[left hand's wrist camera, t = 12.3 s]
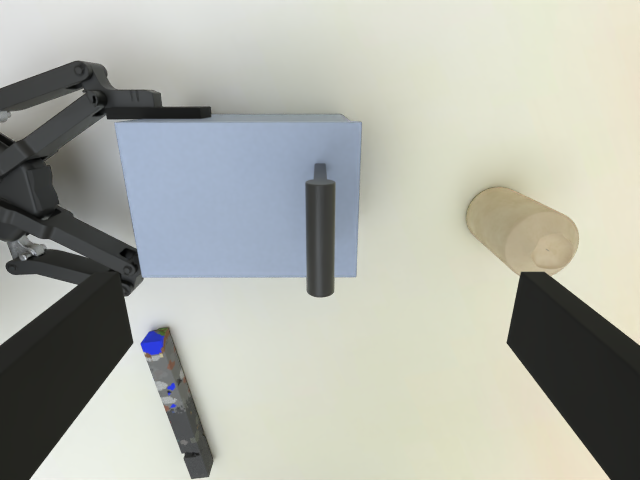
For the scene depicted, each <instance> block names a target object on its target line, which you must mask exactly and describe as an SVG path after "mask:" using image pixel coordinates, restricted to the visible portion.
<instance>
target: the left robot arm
mask: <svg viewBox="0 0 640 480" xmlns="http://www.w3.org/2000/svg"><path fill="white" fill-rule="evenodd" d="M132 344H133V339H132V334H131V329H130V324H129V319H128V314H127V309H126V304H125V299H124V294H123V289H122V284H121V279H120V274H119V272H94V273H93V274H92V275H91V276H89V277H88V278H87V279H85V280H84V281H83V282H82V283H80V284H79V285H78V286H76V287H75V288H74V289H73V290H71V291H70V292H69V293H67V294H66V295H65V296H64V297H62V298H61V299H60V300H58V301H57V302H56V303H55V304H53V305H52V306H51V307H49V308H48V309H47V310H46V311H44V312H43V313H42V314H40V315H39V316H38V317H36V318H35V319H34V320H33V321H31V322H30V323H29V324H27V325H26V326H25V327H24V328H22V329H21V330H20V331H18V332H17V333H16V334H15V335H13V336H12V337H11V338H9V339H8V340H7V341H6V342H4V343H3V344H2V345H0V480H29V479H30V478H31V477H32V475H33V474H34V473H35V472H36V470H37V469H38V468H39V466H40V465H41V464H42V462H43V461H44V460H45V458H46V457H47V456H48V454H49V453H50V452H51V451H52V449H53V448H54V447H55V445H56V444H57V443H58V441H59V440H60V439H61V437H62V436H63V435H64V433H65V432H66V431H67V429H68V428H69V427H70V426H71V424H72V423H73V422H74V420H75V419H76V418H77V416H78V415H79V414H80V412H81V411H82V410H83V408H84V407H85V406H86V404H87V403H88V402H89V401H90V399H91V398H92V397H93V395H94V394H95V393H96V391H97V390H98V389H99V387H100V386H101V385H102V383H103V382H104V381H105V380H106V378H107V377H108V376H109V374H110V373H111V372H112V370H113V369H114V368H115V366H116V365H117V364H118V362H119V361H120V360H121V358H122V357H123V356H124V355H125V353H126V352H127V351H128V349H129V348H130V347H131V345H132ZM507 344H508V345H509V347H510V348H511V349H512V351H513V352H514V353H515V355H516V356H517V357H518V358H519V360H520V361H521V362H522V364H523V365H524V366H525V368H526V369H527V370H528V372H529V373H530V374H531V376H532V377H533V378H534V380H535V381H536V382H537V383H538V385H539V386H540V387H541V389H542V390H543V391H544V393H545V394H546V395H547V397H548V398H549V399H550V401H551V402H552V403H553V405H554V406H555V407H556V408H557V410H558V411H559V412H560V414H561V415H562V416H563V418H564V419H565V420H566V422H567V423H568V424H569V426H570V427H571V428H572V429H573V431H574V432H575V433H576V435H577V436H578V437H579V439H580V440H581V441H582V443H583V444H584V445H585V447H586V448H587V449H588V451H589V452H590V453H591V454H592V456H593V457H594V458H595V460H596V461H597V462H598V464H599V465H600V466H601V468H602V469H603V470H604V472H605V473H606V474H607V475H608V477H609V478H610V479H611V480H640V345H638V344H637V343H636V342H634V341H633V340H632V339H631V338H629V337H628V336H627V335H625V334H624V333H623V332H622V331H620V330H619V329H618V328H616V327H615V326H614V325H613V324H611V323H610V322H609V321H607V320H606V319H605V318H604V317H602V316H601V315H600V314H598V313H597V312H596V311H594V310H593V309H592V308H591V307H589V306H588V305H587V304H585V303H584V302H583V301H582V300H580V299H579V298H578V297H576V296H575V295H574V294H573V293H571V292H570V291H569V290H567V289H566V288H565V287H564V286H562V285H561V284H560V283H558V282H557V281H556V280H555V279H553V278H552V277H551V276H549V275H548V274H547V273H546V272H521V274H520V279H519V284H518V289H517V294H516V299H515V304H514V309H513V314H512V319H511V324H510V329H509V334H508V339H507Z"/></svg>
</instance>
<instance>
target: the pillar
mask: <svg viewBox="0 0 640 480" xmlns="http://www.w3.org/2000/svg"><path fill="white" fill-rule="evenodd" d="M141 346H142V349H143V352H144V354H145V357H146V360H147V362H148V365H149V368H150V370H151V373H152V376H153V378H154V381H155V384H156V386H157V389H158V392H159V394H160V397H161V400H162V402H163V405H164V408H165V410H166V413H167V416H168V418H169V421H170V423H171V426H172V429H173V431H174V434H175V437H176V439H177V442H178V445H179V447H180V450H181V453H185V456H184V461H185V463H186V466H187V469H188V471H189V474H190V477H191V479H195V478H204V477H209V475H210V471H211V468H212V464H213V458H212V455H211V452H210V449H209V446H208V443H207V440H206V438H205V436H204V435H202V434H203V429H202V426H201V423H200V420H199V417H198V414H197V411H196V408H195V405H194V402H193V399H192V396H191V394H190V391H189V388H188V385H187V382H186V379H185V376H184V373H183V370H182V367H181V364H180V361H179V358H178V355H177V352H176V350H175V347H174V344H173V341H172V338H171V335H170V332H169V329H168V328H162V329H158V330H156V331H151V332H149V333H148V334H147V335H146V337H145V338H144V340H143V341H142V342H141Z"/></svg>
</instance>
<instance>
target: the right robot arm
mask: <svg viewBox="0 0 640 480" xmlns="http://www.w3.org/2000/svg"><path fill="white" fill-rule="evenodd" d="M83 88H84V90H83V92H86V93H85V94H84V95H83V96H81V97H80V98H79V99H77V100H76V101H75V102H73V103H72V104H70V105H69V106H68V107H66V108H65V109H64V110H62V111H61V112H60V113H58V114H57V115H56V116H54V117H53V118H51V119H50V120H49V121H47V122H46V123H45V124H43V125H42V126H41V127H39V128H38V129H37V130H35V131H34V132H32V133H31V134H30V135H28V136H27V137H26V138H24V139H22V140H20V141H17V142H15V141H13V140H12V139H10V138H8V137H7V136H5V135H3V134H2V133H0V240H2V241H6V242H7V244H8V247H9V249H10V252H11V255H12V258H13V260H11V261H9V262H8V263H6V269H7V271H8V272H9V273H11V274H13V275H24V274H39V275H42V276H46V277H50V278H54V279H58V280H62V281H66V282H70V283H73V284H77V285H79V284H80V283H82V282H83V281H84V280H85V279H87V278H88V277H89V276H91V275H92V274H93V273H94V272H119V274H120V279H121V284H122V289H123V294H124V296H128V295H130V294H131V293H132V292H133V290H134V289H135V288H136V287H137V286H138V285H139V284H140V283H141V282H142V281H143V279H144V278H143V277H142V274H141V268H140V263H139V257H138V252H137V249H136V248H134V247H132V246H130V245H128V244H126V243H124V242H122V241H120V240H118V239H116V238H114V237H112V236H110V235H108V234H106V233H104V232H102V231H100V230H98V229H96V228H94V227H92V226H90V225H88V224H86V223H84V222H82V221H80V220H78V219H76V218H74V217H73V214H72V213H71V212H69V211H67V210H65V209H63V208H61V207H59V206H57V205H58V204H59V201H58V197H57V194H56V192H55V190H54V188H53V186H52V172H51V168H50V165H46V164H45V163H44V161H45V160H47V159H48V158H49V157H51V156H52V155H54V154H55V153H56V152H58V149H59V148H60V147H62V146H63V145H65V144H66V143H67V142H69V141H70V140H72V139H73V138H74V137H76V136H77V135H79V134H80V133H81V132H83V131H84V130H86V129H87V128H88V127H90V126H91V125H93V124H94V123H95V122H97V121H98V120H100V119H101V118H102V117H104V116H105V115H106V116H107V119H203V118H208V117H211V107H162V101H161V94H160V93H159V92H156V91H154V90H117V89H115V88H114V87H113V86H112V85H111V84H110V83H109V81H108V79H107V70H106V69H105V67H104V66H102V65H101V64H97V63H90V62H83V61H74V62H71V63H69V64H66V65H63V66H60V67H58V68H55V69H52V70H49V71H47V72H44V73H41V74H39V75H36V76H33V77H30V78H28V79H25V80H22V81H19V82H17V83H14V84H11V85H9V86H6V87H3V88H0V123H3V122H5V121H7V119H8V118H9V117H10V116H11V113H10V111H18V110H23V109H27V108H30V107H32V106H35V105H38V104H41V103H44V102H46V101H49V100H52V99H55V98H58V97H60V96H63V95H66V94H69V93H72V92H74V91H77V90H80V89H83ZM29 234H32V235H34V236H36V237H38V238H41V239H51V240H53V241H55V242H57V243H59V244H61V245H63V246H65V247H67V248H69V249H71V250H73V251H75V252H78V253H80V254H82V255H84V256H86V257H83V256H79V255H75V254H72V253H68V252H64V251H60V250H53V249H46V246H45V245H44V244H40V245H39V244H35V243H32V242H30V241H29V240H28V238H27V235H29ZM87 257H88V258H87Z"/></svg>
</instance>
